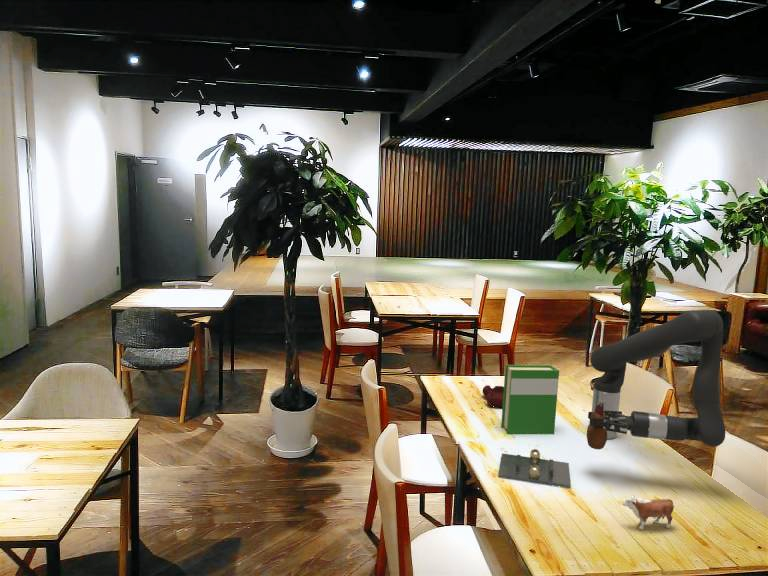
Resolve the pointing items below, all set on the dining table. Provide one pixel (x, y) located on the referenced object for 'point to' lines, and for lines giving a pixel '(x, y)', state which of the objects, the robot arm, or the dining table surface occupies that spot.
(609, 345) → the robot arm
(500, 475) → the metal mounting plate
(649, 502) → the bull figurine
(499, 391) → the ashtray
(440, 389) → the dining table surface
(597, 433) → the wooden figurine
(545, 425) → the hardback book
